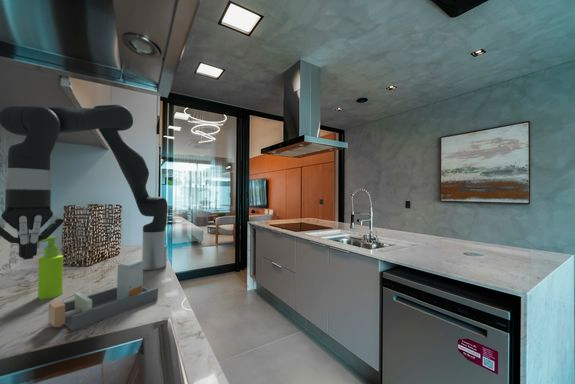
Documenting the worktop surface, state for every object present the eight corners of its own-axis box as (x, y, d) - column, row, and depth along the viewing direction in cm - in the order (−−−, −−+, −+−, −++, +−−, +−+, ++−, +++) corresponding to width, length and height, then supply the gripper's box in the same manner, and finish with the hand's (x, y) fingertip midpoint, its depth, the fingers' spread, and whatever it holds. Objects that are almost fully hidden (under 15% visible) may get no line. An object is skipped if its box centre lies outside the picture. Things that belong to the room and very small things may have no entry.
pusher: (78, 308, 70) (79, 291, 70) (91, 318, 65) (92, 299, 65) (45, 319, 64) (46, 300, 64) (57, 330, 59) (57, 310, 59)
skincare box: (127, 303, 74) (128, 265, 74) (116, 302, 75) (117, 264, 75) (143, 295, 80) (143, 260, 80) (132, 294, 81) (133, 259, 81)
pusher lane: (139, 290, 85) (139, 280, 85) (157, 299, 79) (157, 288, 79) (56, 317, 67) (56, 304, 67) (72, 330, 60) (72, 316, 60)
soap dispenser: (30, 301, 76) (31, 239, 76) (47, 292, 83) (48, 235, 83) (51, 300, 77) (52, 238, 77) (66, 291, 84) (67, 235, 84)
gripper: (60, 188, 65) (59, 251, 65) (-17, 187, 54) (-19, 262, 54) (70, 188, 61) (68, 255, 61) (-12, 187, 50) (-14, 268, 50)
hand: (27, 258), depth 58 cm, fingers closed
